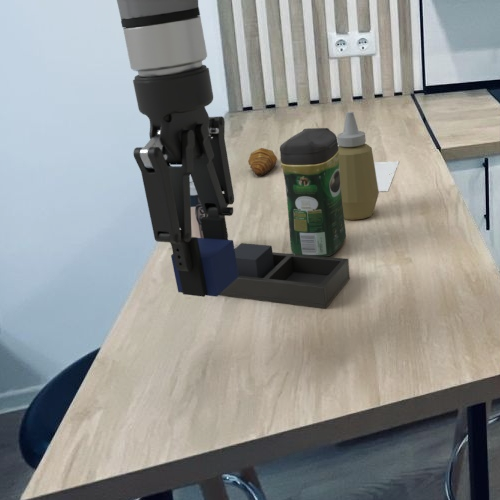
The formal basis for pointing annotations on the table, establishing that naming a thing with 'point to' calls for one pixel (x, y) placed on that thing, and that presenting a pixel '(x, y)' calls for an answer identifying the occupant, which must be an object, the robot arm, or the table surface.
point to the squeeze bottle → (356, 172)
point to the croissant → (262, 161)
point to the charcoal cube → (254, 260)
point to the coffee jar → (313, 192)
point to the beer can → (196, 213)
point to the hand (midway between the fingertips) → (208, 281)
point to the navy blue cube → (215, 265)
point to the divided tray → (295, 281)
